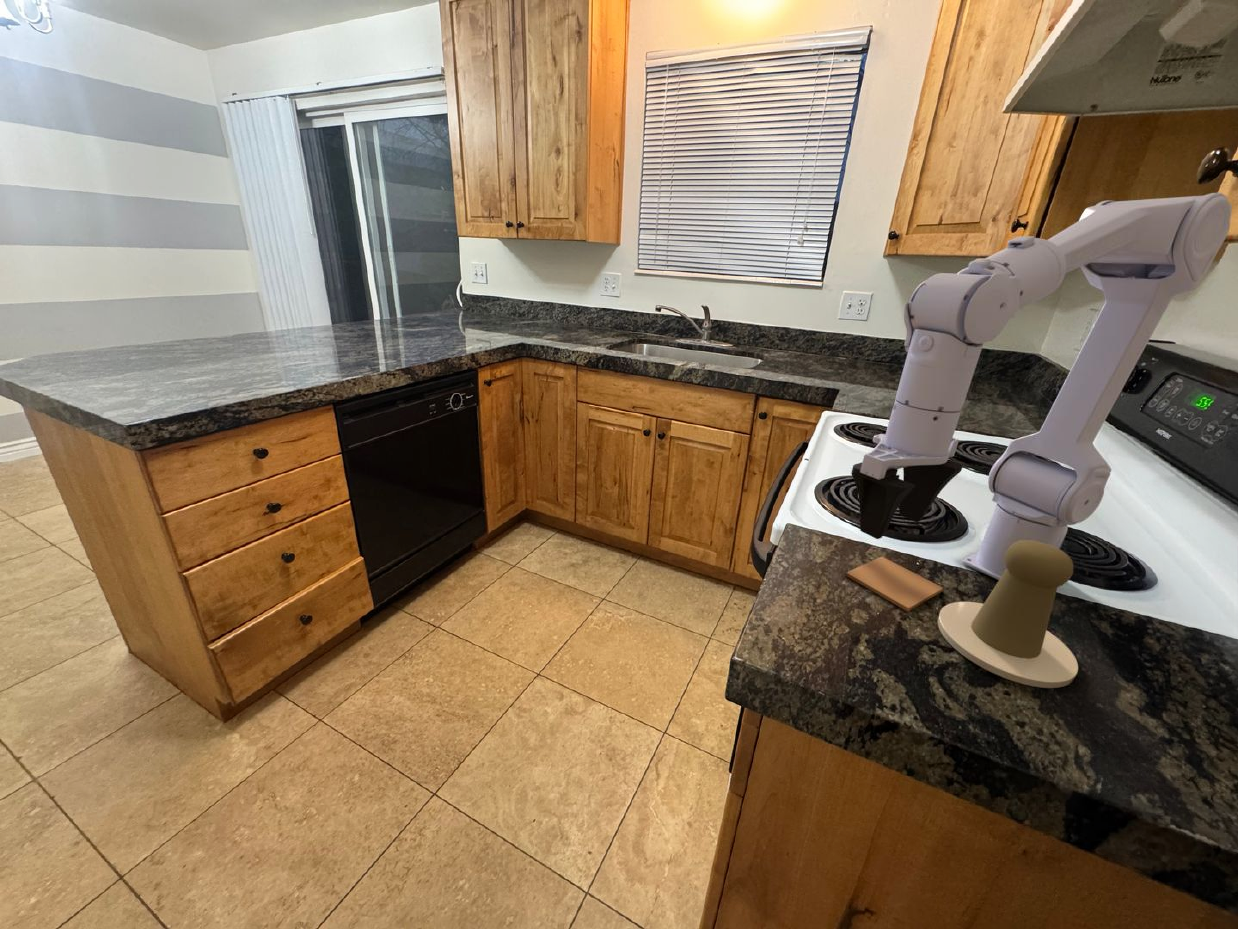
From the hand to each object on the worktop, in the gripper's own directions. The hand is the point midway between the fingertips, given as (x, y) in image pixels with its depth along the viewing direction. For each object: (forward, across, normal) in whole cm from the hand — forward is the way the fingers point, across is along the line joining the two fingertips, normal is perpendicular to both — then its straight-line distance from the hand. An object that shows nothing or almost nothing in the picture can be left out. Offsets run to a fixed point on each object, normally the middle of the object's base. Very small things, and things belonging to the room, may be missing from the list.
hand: (890, 525), depth 54 cm
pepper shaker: (+10, -7, +11) cm, 16 cm away
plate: (+10, -7, +11) cm, 17 cm away
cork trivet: (+10, -7, -1) cm, 12 cm away
